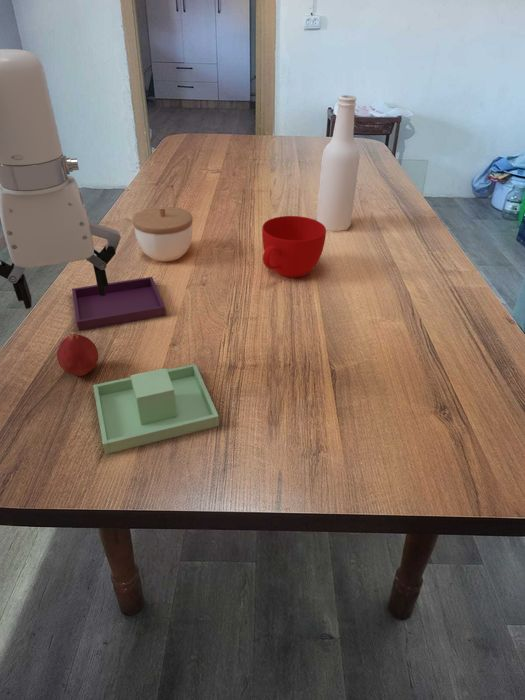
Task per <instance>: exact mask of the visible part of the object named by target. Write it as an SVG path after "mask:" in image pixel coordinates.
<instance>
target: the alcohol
mask: <svg viewBox="0 0 525 700" xmlns="http://www.w3.org/2000/svg"><path fill="white" fill-rule="evenodd" d="M337 99H338V102H337V110H336V116H335V121H334V127H333V133H332V137H331V139H330V141H329V142H327V144H326V146H325V147H324V148H323V151H322V155H321V163H320V175H319V185H318V197H317V207H316V219H315V220H316V221H318V222H320V223H322V224H323V225H324V226H325V228H326V231H330V232H343V231H347V230H348V229H349V228H350V226H351V224H352V217H353V210H354V202H355V195H356V187H357V182H358V181H357V180H358V173H359V165H360V149H359V148H358V145H357V144H356V142H355V139H354V133H355V132H354V130H355V113H356V112H355V111H356V110H355V109H356V106H357V97H356V96H354V95H350V94H349V95H347V94H342V95H339V96H338V97H337Z"/></svg>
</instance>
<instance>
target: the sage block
mask: <svg viewBox="0 0 525 700" xmlns="http://www.w3.org/2000/svg"><path fill="white" fill-rule="evenodd" d="M167 370H168V369H167V367H163V368H158V369H154V370H149V371H143V372H140V373H139V372H138V373H134V374H131V375H130V377H131V382H132V387H133V393H134V399H135V404H136V408H137V411H138V415H139V419H140V423H141V425H144V424H148V423H152V422H156V421H160V420H165V419H169V418H173V417H177V412H176V403H175V394H174V388H173V385H172V383H171V380H170V377H169V374H168V371H167Z"/></svg>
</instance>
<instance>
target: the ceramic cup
mask: <svg viewBox="0 0 525 700" xmlns="http://www.w3.org/2000/svg"><path fill="white" fill-rule="evenodd" d="M261 229H262V230H261V233H262V234H261V236H262V247H263V255H262V262H263V265H264V267H265V268H266V269H269V270H273V271H274V272H275V273H276V274H277V275H279V276H281V277H284V278H288V279H297V278H302V277H304V276H306V275H308V273H310V272H311V271H312V270H313V269H315V267H316V265H317V264H318V263H319V261H320V259H321V256H322V254H323V251H324V247H325V243H326V237H327V236H326V235H327V230H326V228H325V226H324V225H323V224H322V223H320V222H318V221H316V219H313V218H310V217H306V216H298V215H283V216H278V217H277V216H276V217H273V218H270V219H268V220H266V221H265V222H264V223H263V224H262V228H261Z"/></svg>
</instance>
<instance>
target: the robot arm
mask: <svg viewBox="0 0 525 700" xmlns="http://www.w3.org/2000/svg"><path fill="white" fill-rule="evenodd" d="M73 171H80V168H79V163H78V158H76V157H75V158H71V157H67V155H64V154H63V149H62V145H61V140H60V135H59V131H58V127H57V123H56V117H55V113H54V109H53V104H52V99H51V94H50V90H49V85H48V81H47V77H46V73H45V68H44V66H43V64H42V61H41V60H40V58H39V57H38V55H36V54H34V52H31V51H29V50H25V49H18V48H17V49H16V48H0V223H1V228H2V233H1V234H0V251H2V250H4V249H5V248H6V247H7V251H8V254H9V257H10V259H11V263H10V264H8V263H7V262H5V261H3V260H1V259H0V277H2V278H4V279H6V280H7V282H8V283H10V284H12V287H13V290H14V292H15V296H16V299H17V301H18V302H23V305H24V307H25V310H29V309H31V308H32V304H33V303H32V294H31V291H30V287H29V285H28V281H27V278H26V276H25V275H26V274H25V273H24V272H25V271H26V269H30V268H39V267H45V266H46V267H47V266H53V265H60V264H66V263H73V262H79V261H84V260H85V261H87V262H89V263H90V264H92V266H93V271H94V276H95V280H96V285H98V290H99V294H100V296H105V292H104V287H108V283H109V282H108V281H109V280H108V277H107V271H106V270H107V267H108V264H109V263H110V261H112V259H113V258H114V256H116V251H117V248H118V246H119V244H120V241H121V238H122V236H121V233H120V231H119V230H118V229H114V228H111V227H108V226H104V225H101V224H98V223H95V222H92V221H90V220H89V217H88V214H87V213H88V212H87V210H86V205H85V202H84V200H83V196H82V193H81V190H80V188H79V186H78V183H77V181H76V179H75V177H73V176H71V174H70V173H72V172H73ZM93 236H95V237H97V238H101V239H104V240H107V241H106V244H105V245H104V247H103V248H102V249H101V251H99V250H98V249H96V248H95V244H94V239H93Z"/></svg>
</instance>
